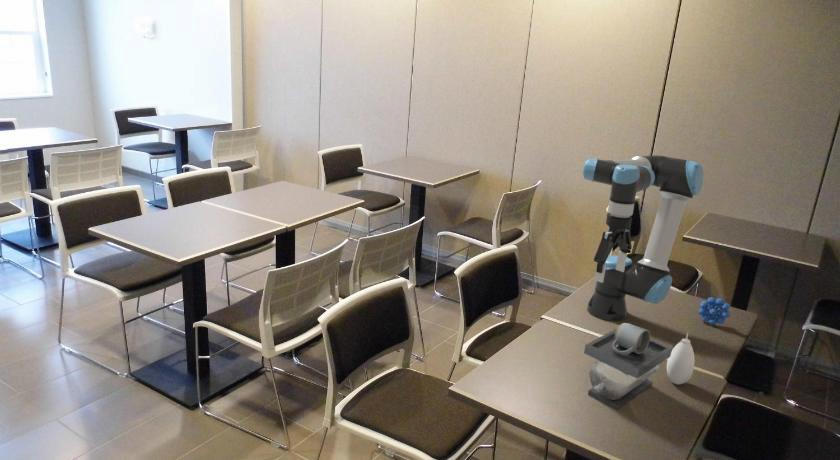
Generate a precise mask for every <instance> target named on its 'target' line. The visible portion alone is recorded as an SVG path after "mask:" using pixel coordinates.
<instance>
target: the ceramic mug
mask: <svg viewBox="0 0 840 460" xmlns="http://www.w3.org/2000/svg"><path fill="white" fill-rule="evenodd" d="M616 329H617V330H616V332H615V341H614V343H613V350H614V351H615V352H616V353H617V354H619V355H628V354H630V353H631V352H634V353H636V354H641V353H643V352H644V351H645V350H646V348H647V346H648V344H649V340H650V339H651V332H650V330H649V329H646V328H644V327H640V326H638V325H637V326H636V325H635V324H632V323H628V322H623V323H621V324H620V325H619V326H618V327H617V328H616ZM616 344H619V345H620V346H622V347H624V348H627V349H628V350H626V351H618V350H617V349H616V348H615V346H616Z"/></svg>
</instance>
